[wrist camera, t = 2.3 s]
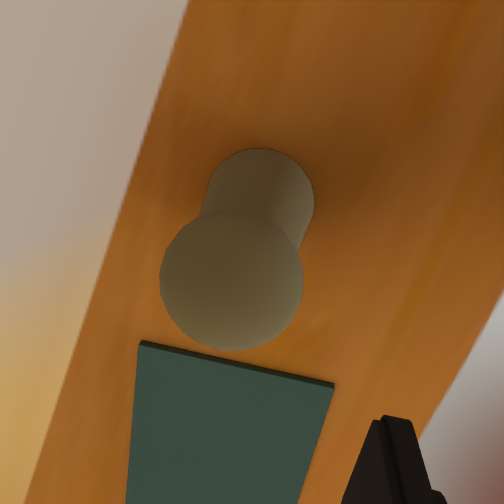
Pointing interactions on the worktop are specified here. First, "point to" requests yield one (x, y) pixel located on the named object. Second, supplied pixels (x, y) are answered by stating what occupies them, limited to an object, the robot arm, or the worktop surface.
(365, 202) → the worktop surface
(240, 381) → the side mat
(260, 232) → the cork
